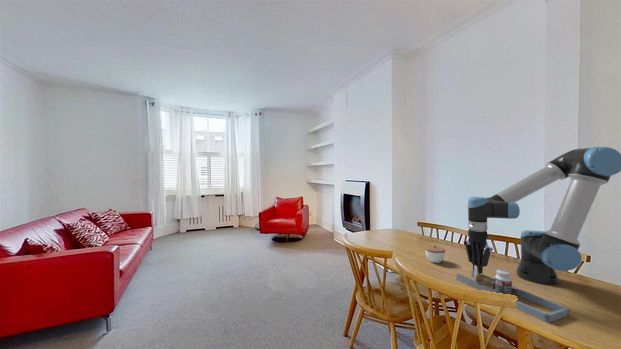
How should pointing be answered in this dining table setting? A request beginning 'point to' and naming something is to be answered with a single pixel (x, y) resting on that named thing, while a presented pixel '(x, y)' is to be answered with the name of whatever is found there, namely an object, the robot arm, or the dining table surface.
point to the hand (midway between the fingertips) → (477, 278)
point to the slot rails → (479, 285)
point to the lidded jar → (435, 253)
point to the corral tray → (558, 310)
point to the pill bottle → (503, 282)
